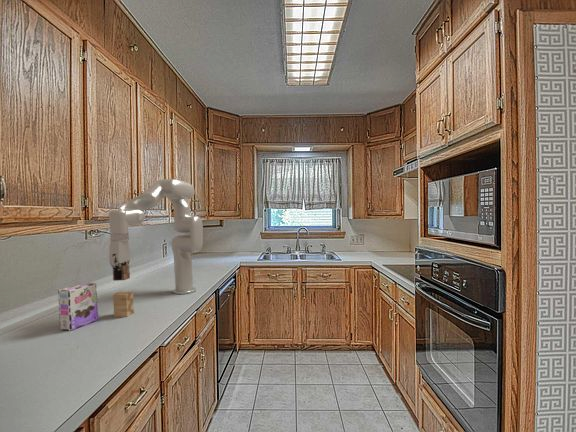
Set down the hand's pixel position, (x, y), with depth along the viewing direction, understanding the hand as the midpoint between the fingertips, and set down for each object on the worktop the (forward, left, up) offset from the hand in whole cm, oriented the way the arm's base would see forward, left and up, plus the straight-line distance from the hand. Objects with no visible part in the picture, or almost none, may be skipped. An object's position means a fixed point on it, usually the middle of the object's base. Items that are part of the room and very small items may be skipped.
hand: (121, 277), depth 165 cm
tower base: (0, 0, -17) cm, 17 cm away
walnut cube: (0, 0, -1) cm, 1 cm away
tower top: (0, 0, -12) cm, 12 cm away
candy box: (+13, -12, -17) cm, 25 cm away
